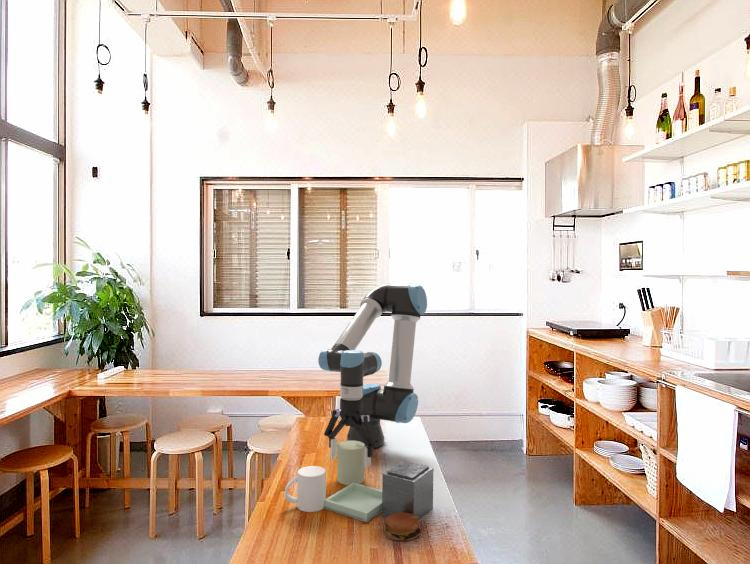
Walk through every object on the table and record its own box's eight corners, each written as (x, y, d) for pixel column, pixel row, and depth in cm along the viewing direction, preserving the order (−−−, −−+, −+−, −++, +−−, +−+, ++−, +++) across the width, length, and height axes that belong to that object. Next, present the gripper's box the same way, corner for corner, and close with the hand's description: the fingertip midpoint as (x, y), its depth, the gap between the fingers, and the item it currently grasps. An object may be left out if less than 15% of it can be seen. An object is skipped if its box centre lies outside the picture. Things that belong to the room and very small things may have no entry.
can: (361, 486, 166) (361, 449, 165) (333, 483, 168) (333, 447, 167) (367, 475, 175) (367, 440, 174) (340, 472, 177) (341, 438, 176)
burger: (376, 531, 138) (377, 514, 138) (404, 522, 143) (405, 505, 143) (399, 548, 130) (399, 529, 129) (428, 537, 135) (428, 520, 135)
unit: (403, 499, 156) (404, 458, 156) (433, 508, 151) (434, 465, 151) (382, 516, 146) (382, 471, 146) (413, 525, 141) (413, 479, 140)
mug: (326, 475, 148) (283, 477, 146) (326, 511, 148) (283, 513, 147) (325, 465, 156) (285, 466, 155) (325, 499, 156) (284, 500, 155)
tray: (353, 490, 163) (353, 482, 163) (394, 502, 155) (394, 493, 155) (323, 508, 150) (323, 500, 150) (366, 522, 142) (366, 513, 142)
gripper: (314, 394, 174) (313, 457, 174) (377, 405, 161) (376, 473, 161) (328, 390, 180) (327, 451, 181) (389, 401, 167) (388, 466, 167)
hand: (350, 462), depth 171 cm, fingers open, 13 cm apart
